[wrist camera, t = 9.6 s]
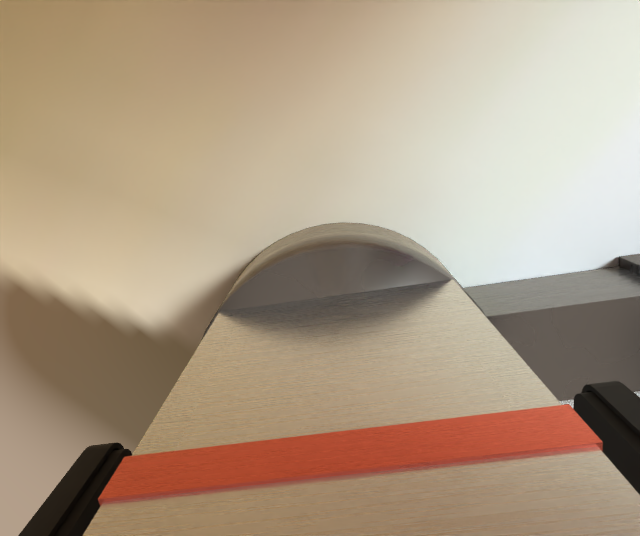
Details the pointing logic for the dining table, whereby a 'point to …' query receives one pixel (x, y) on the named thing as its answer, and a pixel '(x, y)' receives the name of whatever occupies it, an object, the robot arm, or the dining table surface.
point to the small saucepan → (493, 299)
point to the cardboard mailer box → (365, 431)
